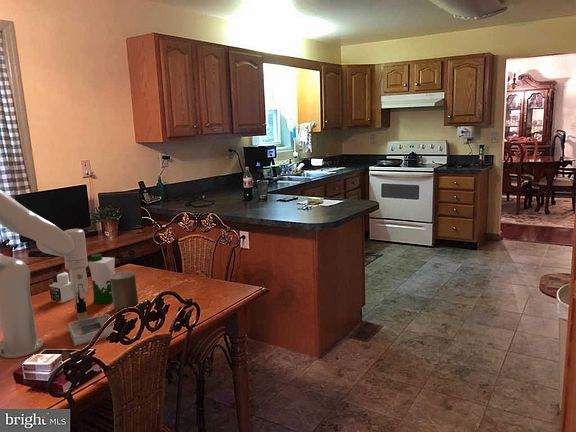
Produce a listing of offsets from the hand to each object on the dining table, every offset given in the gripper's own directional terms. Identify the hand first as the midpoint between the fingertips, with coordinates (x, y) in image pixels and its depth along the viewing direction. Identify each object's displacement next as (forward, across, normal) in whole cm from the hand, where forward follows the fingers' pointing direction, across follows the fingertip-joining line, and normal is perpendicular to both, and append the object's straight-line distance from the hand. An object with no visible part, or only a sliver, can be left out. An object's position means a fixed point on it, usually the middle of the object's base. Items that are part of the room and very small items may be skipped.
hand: (81, 310), depth 171 cm
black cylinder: (+5, 0, 0) cm, 5 cm away
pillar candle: (+5, +8, -18) cm, 21 cm away
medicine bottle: (+6, +34, +2) cm, 35 cm away
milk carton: (+5, +21, -13) cm, 26 cm away
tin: (+6, -11, -2) cm, 12 cm away
